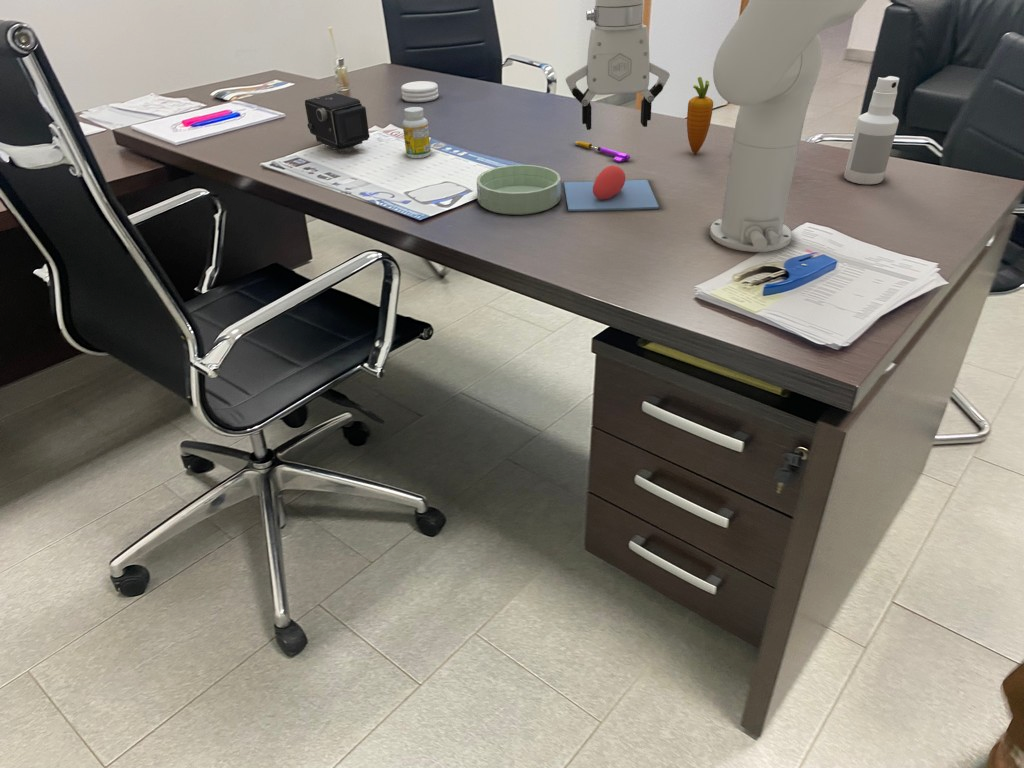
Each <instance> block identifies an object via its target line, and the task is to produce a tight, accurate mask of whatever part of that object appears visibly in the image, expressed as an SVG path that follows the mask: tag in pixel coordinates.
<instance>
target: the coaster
mask: <svg viewBox="0 0 1024 768" xmlns="http://www.w3.org/2000/svg"><path fill="white" fill-rule="evenodd" d="M400 90H401V95H402V96H401V99H402V100H403V101H405V102H409V103H426V102H431V101H434V100H437V99H438V98H439V89H438V83H436V82H434V81H428V80H419V81H418V80H417V81H416V80H415V81H409V82H407V83H403V84H402V85H401V87H400Z"/></svg>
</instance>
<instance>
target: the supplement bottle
mask: <svg viewBox="0 0 1024 768" xmlns="http://www.w3.org/2000/svg"><path fill="white" fill-rule="evenodd" d="M424 112H425V111H424V108H423V107H421V106H409V107H406V108H404V111H403V113H404V117H405V119H403V121H402V130H403V138H404V146H405V154H406V156H407V157H408V158H411V159H423V158H427V157H429V156H430V155H431V154H432V153H431V152H432V150H431V149H432V148H431V141H430V131H429V130H430V129H429V122H428V119H427V118H425V117H424V115H425V113H424Z"/></svg>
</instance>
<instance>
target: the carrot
mask: <svg viewBox="0 0 1024 768" xmlns="http://www.w3.org/2000/svg"><path fill="white" fill-rule="evenodd" d="M703 81H704V80H703V78H702V76H699V77H697V82H698V85H699V86H698V85H697V84H694V85H693V86H692V88H693V89H695V91H696V93H697V96H693V97H692V98H690V99H689V101H688V103H687V113H686V114H687V115H686V133H687V139H688V140H687V141H688V144H689V146H690V149H691V152H692V153H693V154H694V155H696V154H698V153H699V151H700V150H701V148H702V147H703V145H704V143H705V141H706V139H707V136H708V134H709V133H708V132H709V128H710V127H711V126H710V125H711V122H712V116H713V110H714V100H713V99H712V98H710V97H709V96H706V95H707V93H708V90H709V87H710V81H708V80H705V83H704V82H703Z"/></svg>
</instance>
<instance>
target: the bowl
mask: <svg viewBox="0 0 1024 768" xmlns="http://www.w3.org/2000/svg"><path fill="white" fill-rule="evenodd" d="M561 179H562V178H561V174H560V173H559V172H557V171H556V170H554V169H551V168H549V167H545V166H541V165H534V164H510V165H509V164H508V165H503V166H497V167H494V168H490V169H488V170H486V171H483V172H481V173H480V174H479V175H478V176H477V177H476V195H477V196H476V197H477V203H478V204H479V205H480V206H481V207H483V208H484V209H486V210H487V211H490V212H492V213H497V214H503V215H513V216H514V215H515V216H516V215H519V216H520V215H521V216H522V215H531V214H536V213H541V212H544V211H547V210H550V209H551V208H553V207H555V206H557V204H558V203H559V202H560V200H561V199H562V198H561V197H562V195H561V193H562V189H561V188H562V182H561V181H562V180H561Z"/></svg>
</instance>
